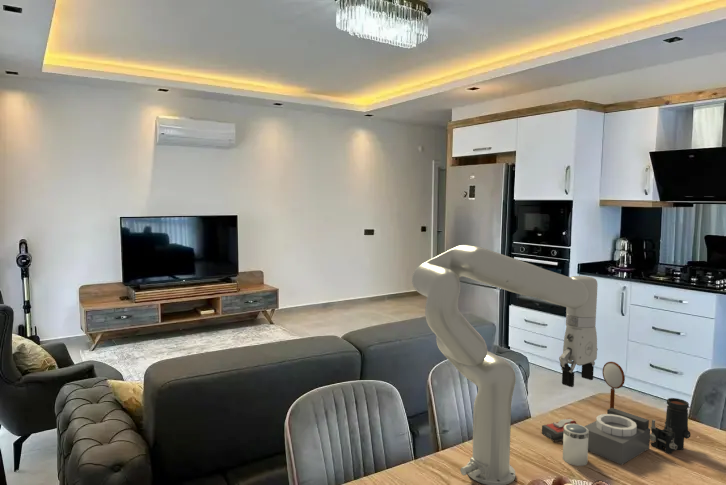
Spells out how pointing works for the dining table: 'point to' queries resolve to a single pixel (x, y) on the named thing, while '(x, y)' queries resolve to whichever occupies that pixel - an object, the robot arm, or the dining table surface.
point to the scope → (672, 427)
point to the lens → (575, 444)
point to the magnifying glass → (613, 378)
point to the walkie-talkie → (556, 429)
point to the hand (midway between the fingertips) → (577, 382)
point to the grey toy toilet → (618, 436)
